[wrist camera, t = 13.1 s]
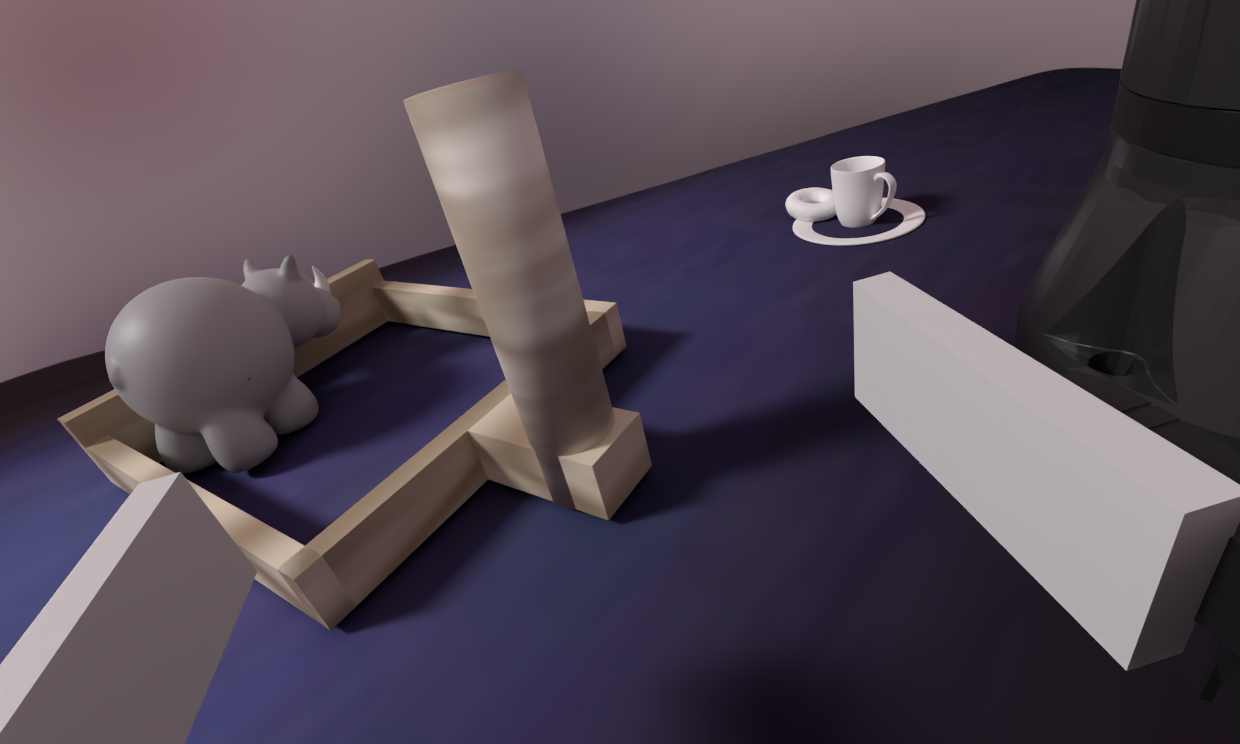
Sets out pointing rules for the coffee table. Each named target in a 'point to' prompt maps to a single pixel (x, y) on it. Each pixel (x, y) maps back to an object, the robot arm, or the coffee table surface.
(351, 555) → the pull frame
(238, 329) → the chubby cartoon animal
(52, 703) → the robot arm
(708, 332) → the coffee table surface
